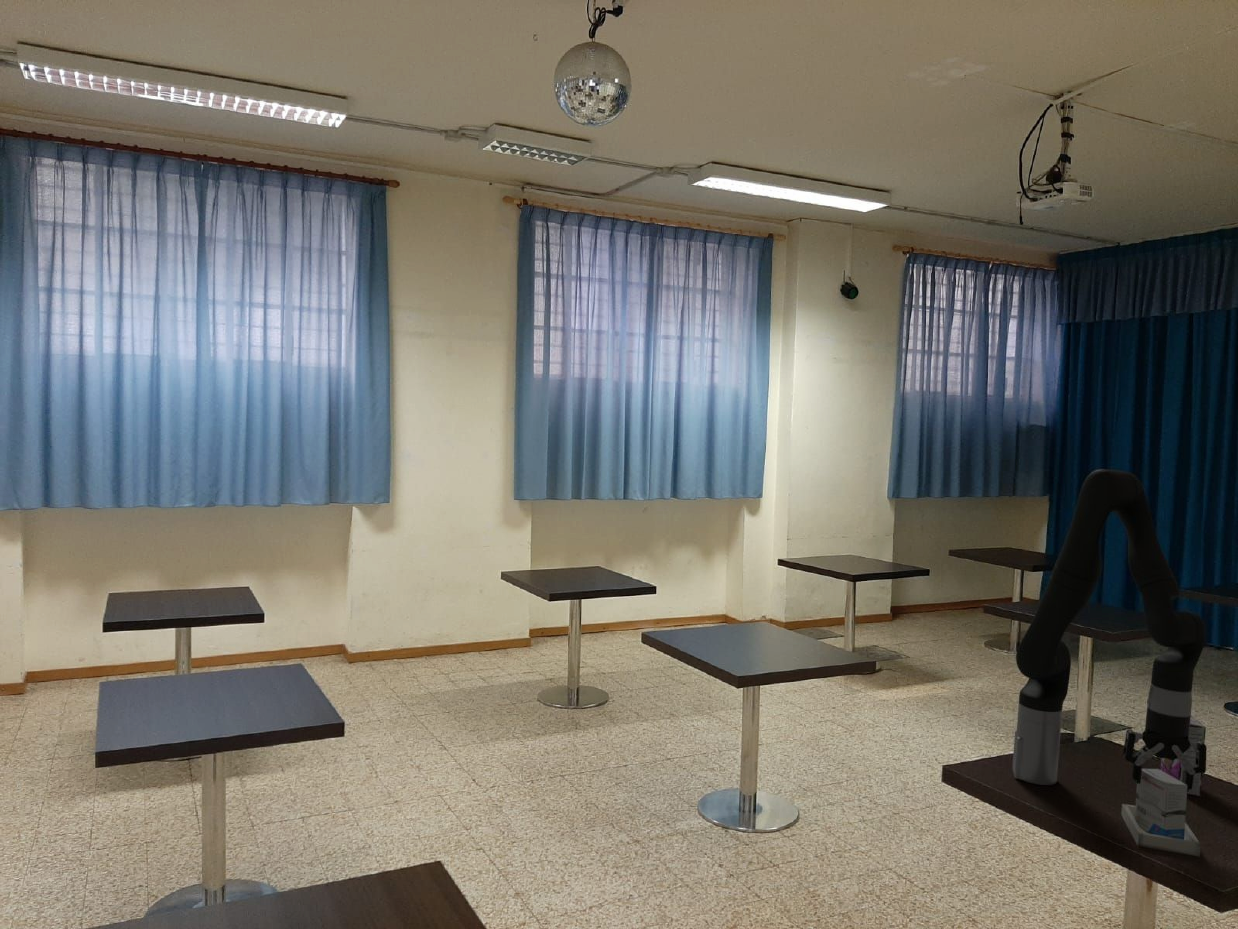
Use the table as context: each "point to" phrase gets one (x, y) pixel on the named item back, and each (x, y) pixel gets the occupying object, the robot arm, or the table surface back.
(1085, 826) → the table surface
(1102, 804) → the table surface
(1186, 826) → the tray
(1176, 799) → the ink box
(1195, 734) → the candy bar box
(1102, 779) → the table surface
